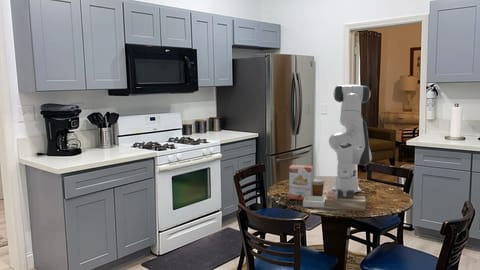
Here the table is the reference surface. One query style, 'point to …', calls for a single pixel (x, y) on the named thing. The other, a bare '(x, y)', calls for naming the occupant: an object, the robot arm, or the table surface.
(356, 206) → the bench plate
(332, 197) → the tile
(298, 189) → the cracker box
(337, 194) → the grey block
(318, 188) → the disposable coffee cup
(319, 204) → the box
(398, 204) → the table surface
